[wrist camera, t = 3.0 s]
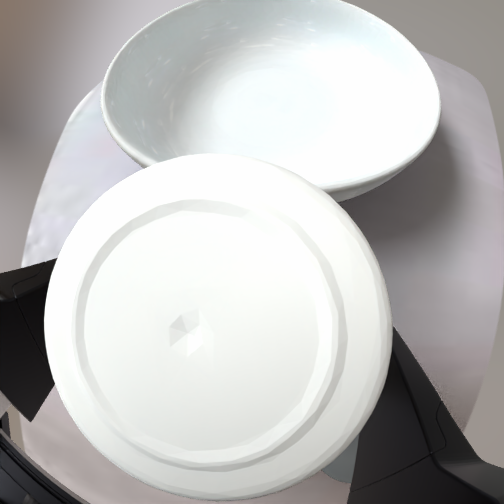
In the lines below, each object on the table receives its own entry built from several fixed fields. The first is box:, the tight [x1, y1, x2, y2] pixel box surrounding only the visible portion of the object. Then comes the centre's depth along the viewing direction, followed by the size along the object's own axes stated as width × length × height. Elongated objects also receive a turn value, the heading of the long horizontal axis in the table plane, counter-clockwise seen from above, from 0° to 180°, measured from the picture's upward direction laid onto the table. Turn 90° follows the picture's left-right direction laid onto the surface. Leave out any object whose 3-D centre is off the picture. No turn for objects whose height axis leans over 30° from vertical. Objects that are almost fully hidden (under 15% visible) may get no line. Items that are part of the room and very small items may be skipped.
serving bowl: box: [100, 0, 441, 203], centre depth 16 cm, size 21×21×7 cm
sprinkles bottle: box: [44, 153, 393, 501], centre depth 9 cm, size 5×5×13 cm
